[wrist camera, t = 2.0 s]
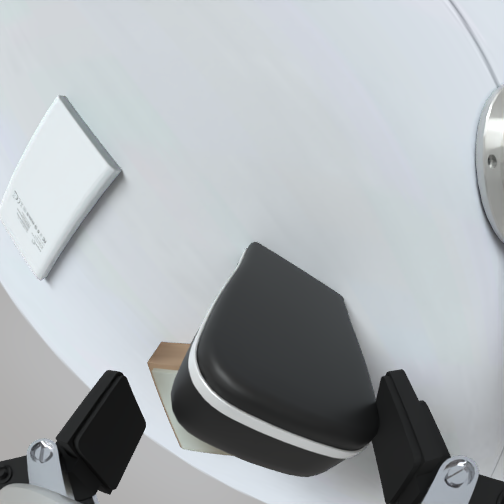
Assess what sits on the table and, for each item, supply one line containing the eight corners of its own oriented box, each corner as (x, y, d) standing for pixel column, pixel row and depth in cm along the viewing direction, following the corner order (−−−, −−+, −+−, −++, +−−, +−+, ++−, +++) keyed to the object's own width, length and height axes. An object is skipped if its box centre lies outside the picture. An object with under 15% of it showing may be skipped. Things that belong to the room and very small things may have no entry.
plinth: (300, 345, 19) (300, 373, 16) (298, 433, 22) (298, 460, 19) (161, 342, 20) (144, 366, 17) (188, 427, 23) (179, 450, 20)
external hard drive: (126, 169, 17) (49, 275, 21) (70, 96, 16) (7, 208, 20) (113, 171, 16) (38, 282, 19) (56, 94, 15) (-6, 211, 18)
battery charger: (219, 285, 18) (139, 428, 7) (250, 235, 17) (184, 360, 6) (310, 339, 19) (317, 497, 8) (347, 296, 17) (395, 452, 7)
